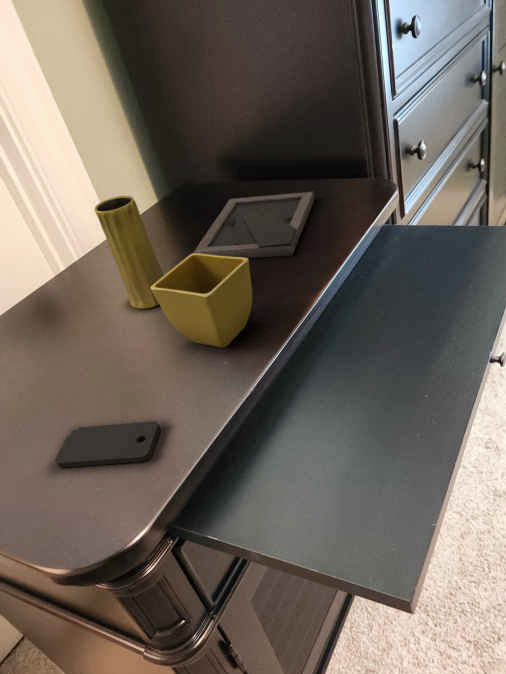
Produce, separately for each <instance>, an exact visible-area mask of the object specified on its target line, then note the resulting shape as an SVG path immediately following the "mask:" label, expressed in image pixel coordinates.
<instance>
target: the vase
mask: <svg viewBox="0 0 506 674" xmlns="http://www.w3.org/2000/svg"><path fill="white" fill-rule="evenodd" d="M94 213H95V214H96V216H97V219H98V221H99V224H100V226H101V230H102V231H103V234H104V236H105V238H106V241H107V242H108V246H109V247H110V251H111V253H112V256H113V259H114V261H115V264H116V265H117V266H116V267H117V270H118V272H119V275H120V278H121V280H122V283H123V285H124V288H125V291H126V293H127V296H128V299H129V303H130V306H132V307H133V308H135V309H138V310H148V309H152V308H155V307H158V306H160V304H159V302H158V301H157V299H156V297H155V295H154V294H153V292H152V290H151V288H150V287H151V286H152V285H153V284H154V283H156V282H157V281H158V280H159V279H161V278H162V277H163V276H165V274H164V272H163V270H162V267H161V265H160V262H159V261H158V258H157V256H156V254H155V251H154V248H153V247H152V244H151V241H150V239H149V236H148V233H147V230H146V227H145V224H144V222H143V221H144V220H143V218H142V216H141V213H140V210H139V208H138V205H137V202H136V200H135V198H134V197H133V196H132V195H119V196H114V197H113V196H112V197H111V198H107V199H105V200H103V201H100V202H99V203H98V204H96V205H95V207H94Z"/></svg>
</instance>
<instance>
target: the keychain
mask: <svg viewBox="0 0 506 674" xmlns="http://www.w3.org/2000/svg"><path fill="white" fill-rule="evenodd" d="M160 430H161V426H160V424H159V422H158V421H156V420H154V421H142V422H139V421H138V422H127V423H117V424H105V425H104V424H103V425H93V426H80V427H78V429H73V430H72V431H71V432H70V434H69V435H67V436H66V437H65V440H64V442H62V443H63V444H62V446H61V447H60V449H59V451H58V453H57V455H56V457H55V459H54V462H55V463H56V465H57V467H59V468H72V467H73V468H74V467H88V466H99V465H100V466H101V465H113V464H129V463H140V462H141V463H142V462H147V461H148V460H150V458H151V457H152V454H153V451H154V448H155V446H156V442H157V439H158V437H159V434H160Z"/></svg>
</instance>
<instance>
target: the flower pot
mask: <svg viewBox="0 0 506 674" xmlns="http://www.w3.org/2000/svg"><path fill="white" fill-rule="evenodd" d="M251 277H252V276H251V269H250V260H249V258H242V257H229V256H216V255H209V254H200V253H194V252H193V253H190V254H189V255H187V256H186V257H185V258H184V259H183V260H182V261H180V262H179V263H178V264H177V265H176V266H174V267H173V268H171V270H169V271H168V272H167V273H166V274H164V276H163V277H162V278H161V279H159V280H158V281H157V282H156V283H154V284H153V285H152V286H151V287H150V288H151V290H152V292H153V294H154V295H155V297H156V299H157V301H158V302H159V304H160V305H159V306H160V308H161V310H162V311H163V314H164V315H165V317H166V318H167V319H168V321H169V323H171V325H172V326H173V327H174V328H175V329H176V330H177V332H179V333H180V334H181V335H182V336H184V337H186V338H187V339H188V340H190V341H192V342H193V343H194V344H201V345H206V346H210V347H211V346H212V347H216V348H222V349H223V348H226V347H228V346H229V345H230V343H231V342H232V341H233V340H234V339H235V338H236V337H238V335H239V334H240V333H241V332H242V331H243V330H244V329H245V327H246V325H247V323H248V321H249V318H250V315H251V311H252V305H253V285H252V278H251Z"/></svg>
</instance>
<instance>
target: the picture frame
mask: <svg viewBox="0 0 506 674" xmlns="http://www.w3.org/2000/svg"><path fill="white" fill-rule="evenodd" d="M314 203H315V195H314V191H306V192H305V191H304V192H294V193H283V194H273V195H272V194H271V195H261V196H249V197H239V198H229V199H228V201H227V202H226V204H225V205H224V206H223V209H222V210H221V211H220V213H219V215H217V217H216V219H215V220H214V221H213V223H212V224H211V226H210V228H208V230H207V232H206V233H205V235H204V236H203V237H202V238H201V241H200V242H199V244H198V245H197V247H196V248H195V249H194V250H193V253H200V254H209V255H216V256H229V257H242V258H248V259H256V258H272V257H274V258H275V257H288V256H293V255H294V252H295V251H296V247H297V245H298V243H299V240H300V236H301V235H302V232H303V230H304V227H305V224H306V223H307V219H308V217H309V215H310V212H311V210H312V207H313V204H314Z"/></svg>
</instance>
